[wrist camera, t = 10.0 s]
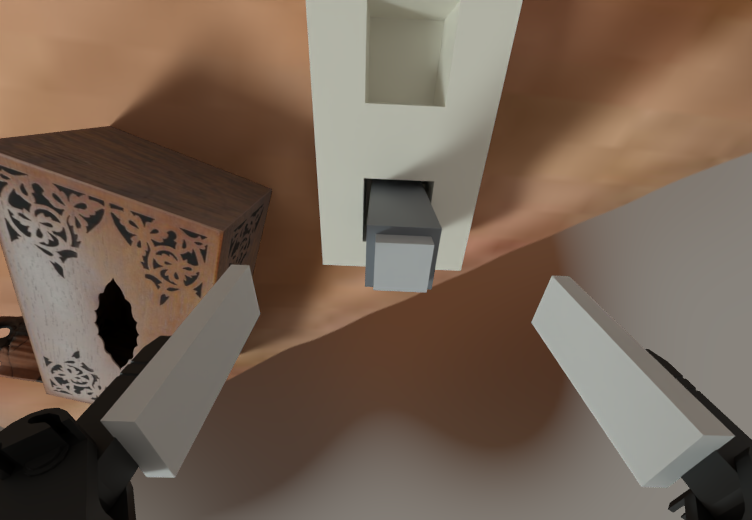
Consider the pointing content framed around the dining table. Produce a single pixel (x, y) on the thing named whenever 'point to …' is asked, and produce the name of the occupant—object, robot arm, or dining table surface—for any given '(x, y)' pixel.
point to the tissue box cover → (115, 246)
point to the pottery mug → (17, 351)
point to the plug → (401, 237)
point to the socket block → (404, 109)
